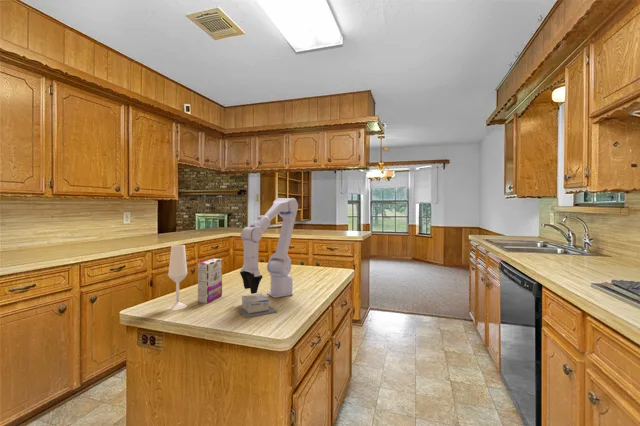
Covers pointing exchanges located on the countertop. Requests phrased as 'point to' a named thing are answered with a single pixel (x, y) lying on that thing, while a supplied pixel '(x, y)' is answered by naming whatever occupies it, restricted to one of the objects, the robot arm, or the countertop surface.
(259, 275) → the robot arm
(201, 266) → the candy bar box
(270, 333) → the countertop surface
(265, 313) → the slate mat
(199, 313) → the countertop surface
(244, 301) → the medicine box
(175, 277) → the champagne flute
